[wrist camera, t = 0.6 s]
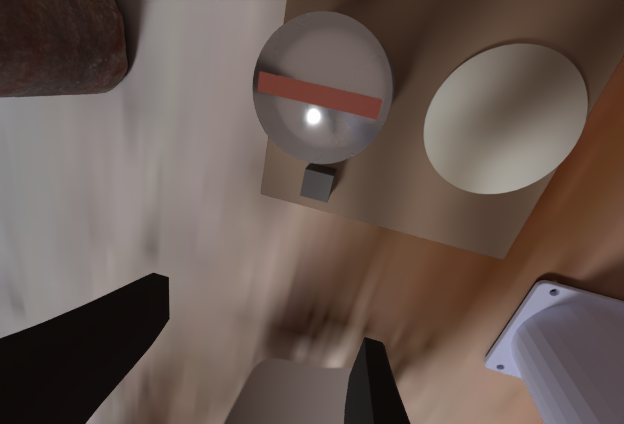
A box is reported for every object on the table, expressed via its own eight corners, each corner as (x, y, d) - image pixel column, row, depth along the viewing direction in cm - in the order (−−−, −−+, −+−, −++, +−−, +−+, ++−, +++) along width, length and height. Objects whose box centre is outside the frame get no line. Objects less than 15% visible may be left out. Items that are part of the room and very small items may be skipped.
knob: (402, 44, 12) (415, 26, 8) (371, 151, 14) (368, 180, 10) (296, 22, 13) (258, -6, 9) (280, 128, 15) (242, 148, 11)
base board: (652, -29, 12) (735, -61, 10) (495, 249, 18) (517, 280, 16) (306, -89, 14) (288, -133, 11) (266, 187, 20) (248, 206, 17)
